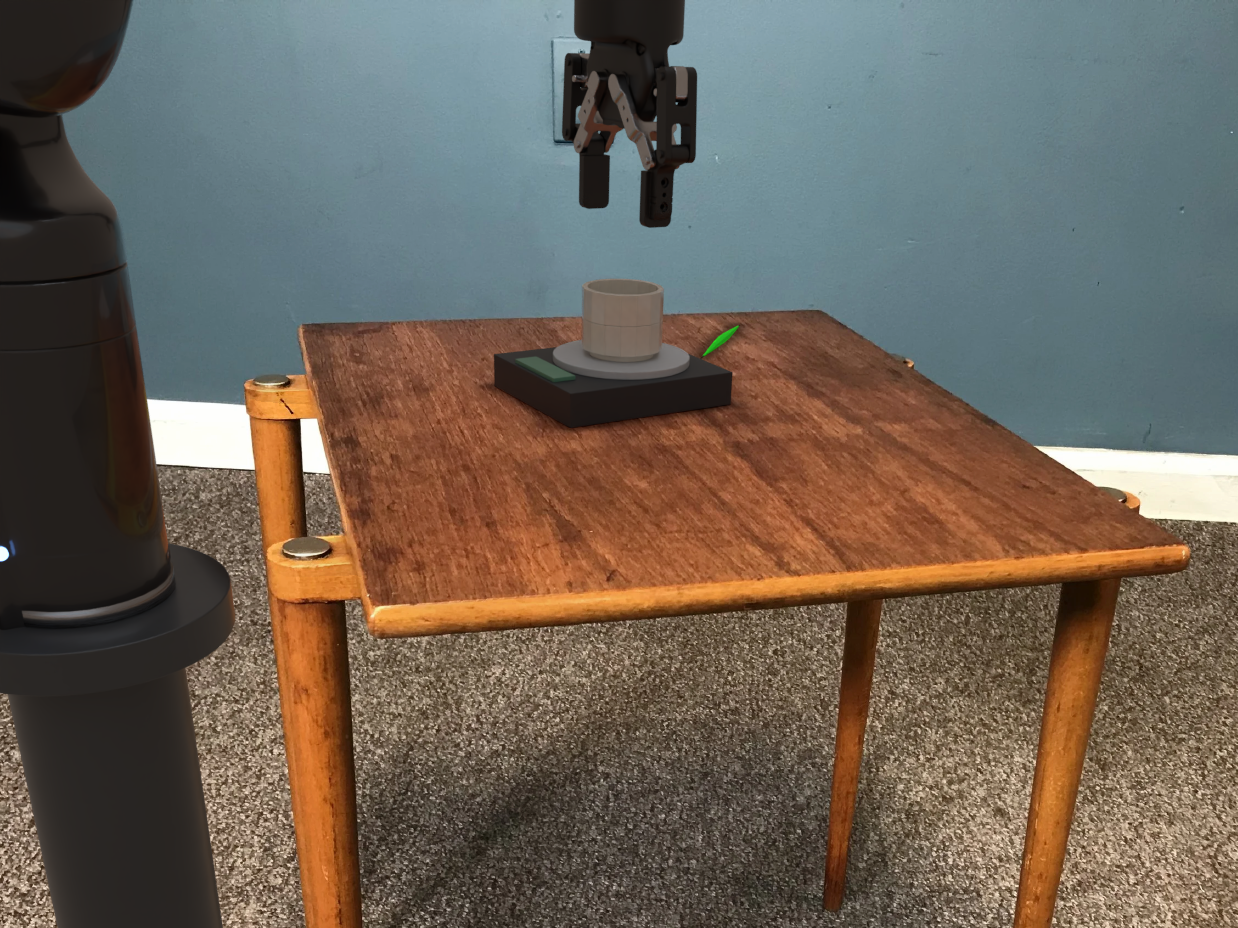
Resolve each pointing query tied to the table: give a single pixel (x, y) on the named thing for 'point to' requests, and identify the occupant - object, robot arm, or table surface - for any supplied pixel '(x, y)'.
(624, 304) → the white cup
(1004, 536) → the table surface
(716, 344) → the leaf
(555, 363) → the scale
